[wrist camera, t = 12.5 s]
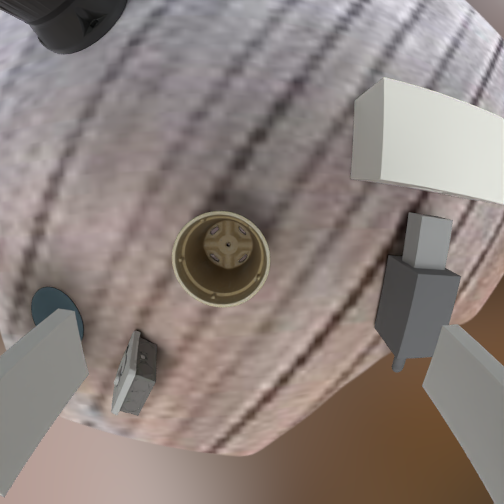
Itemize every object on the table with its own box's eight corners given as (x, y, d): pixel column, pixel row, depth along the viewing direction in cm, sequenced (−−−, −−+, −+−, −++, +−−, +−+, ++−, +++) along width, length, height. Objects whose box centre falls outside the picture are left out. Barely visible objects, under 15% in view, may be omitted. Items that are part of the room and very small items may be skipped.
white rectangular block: (354, 100, 34) (383, 77, 24) (468, 130, 33) (513, 122, 24) (350, 179, 36) (380, 179, 26) (465, 198, 36) (511, 206, 26)
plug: (394, 209, 36) (427, 217, 27) (433, 215, 36) (470, 224, 27) (367, 356, 40) (386, 390, 32) (403, 355, 40) (426, 387, 32)
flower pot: (206, 192, 37) (190, 196, 28) (280, 221, 37) (285, 233, 29) (180, 263, 39) (160, 286, 30) (250, 291, 39) (248, 320, 31)
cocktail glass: (125, 350, 42) (40, 472, 17) (56, 378, 44) (-20, 466, 20) (63, 243, 38) (-75, 302, 14) (3, 290, 41) (-98, 349, 16)
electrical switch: (135, 326, 41) (116, 364, 32) (168, 343, 42) (155, 383, 33) (117, 370, 43) (99, 409, 34) (147, 384, 44) (134, 425, 35)
